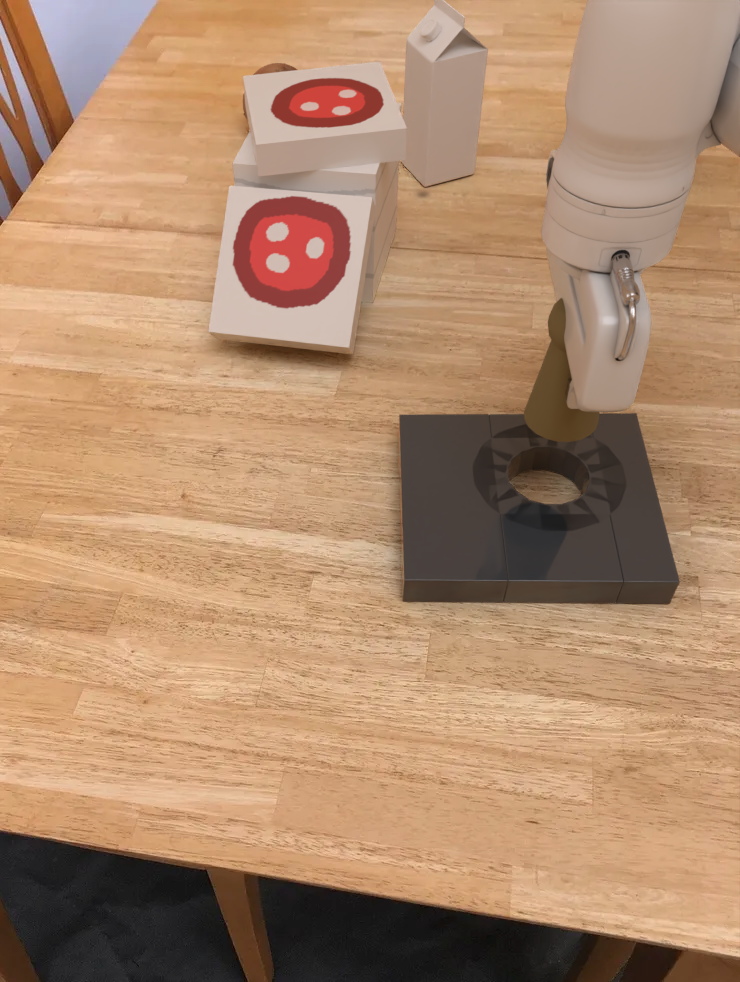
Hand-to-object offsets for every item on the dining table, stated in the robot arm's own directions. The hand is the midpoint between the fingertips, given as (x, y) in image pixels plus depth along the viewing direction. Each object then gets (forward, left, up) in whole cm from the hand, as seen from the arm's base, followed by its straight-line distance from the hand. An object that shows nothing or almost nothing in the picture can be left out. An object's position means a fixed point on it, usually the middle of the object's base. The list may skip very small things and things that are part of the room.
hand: (571, 377), depth 73 cm
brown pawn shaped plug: (0, 0, -4) cm, 4 cm away
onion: (+28, -68, -14) cm, 75 cm away
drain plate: (+2, +2, -14) cm, 14 cm away
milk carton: (+7, -58, -14) cm, 60 cm away
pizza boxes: (+22, -33, -14) cm, 42 cm away
